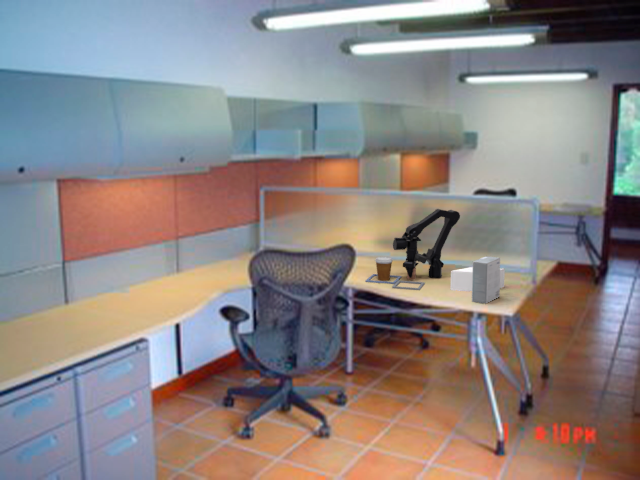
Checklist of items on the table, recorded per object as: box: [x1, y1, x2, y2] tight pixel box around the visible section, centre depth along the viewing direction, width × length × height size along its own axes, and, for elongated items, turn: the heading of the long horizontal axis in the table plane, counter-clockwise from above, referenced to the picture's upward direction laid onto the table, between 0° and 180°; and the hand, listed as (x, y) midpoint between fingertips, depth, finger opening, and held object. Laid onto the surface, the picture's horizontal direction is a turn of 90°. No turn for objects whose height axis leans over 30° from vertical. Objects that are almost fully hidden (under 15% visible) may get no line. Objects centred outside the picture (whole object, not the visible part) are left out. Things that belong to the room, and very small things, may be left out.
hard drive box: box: [471, 255, 501, 305], centre depth 306 cm, size 16×8×20 cm, turn 141°
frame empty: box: [391, 280, 426, 291], centre depth 336 cm, size 14×14×1 cm
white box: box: [450, 266, 506, 292], centre depth 328 cm, size 14×29×10 cm, turn 98°
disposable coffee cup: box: [374, 256, 393, 282], centre depth 349 cm, size 10×10×12 cm
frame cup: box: [364, 273, 403, 285], centre depth 350 cm, size 16×16×1 cm
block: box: [406, 267, 417, 281], centre depth 352 cm, size 4×4×6 cm
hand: (411, 276), depth 352 cm, fingers closed on block, 4 cm apart
